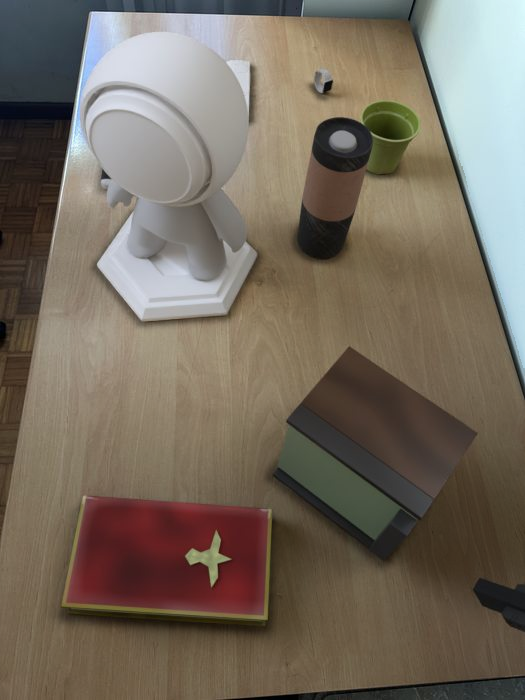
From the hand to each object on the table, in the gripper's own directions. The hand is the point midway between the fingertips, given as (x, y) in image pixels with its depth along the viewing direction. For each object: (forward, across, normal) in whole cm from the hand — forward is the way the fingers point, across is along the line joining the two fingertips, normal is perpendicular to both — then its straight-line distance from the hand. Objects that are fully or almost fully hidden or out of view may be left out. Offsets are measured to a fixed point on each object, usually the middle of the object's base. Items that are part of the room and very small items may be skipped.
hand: (481, 591), depth 65 cm
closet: (+19, -5, -5) cm, 20 cm away
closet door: (+18, 0, -6) cm, 19 cm away
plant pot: (+39, -54, -24) cm, 71 cm away
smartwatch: (+51, -62, -36) cm, 89 cm away
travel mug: (+37, -34, -22) cm, 55 cm away
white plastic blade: (+59, -52, -44) cm, 90 cm away
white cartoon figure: (+46, -17, -32) cm, 58 cm away
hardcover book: (+26, +15, -12) cm, 33 cm away
